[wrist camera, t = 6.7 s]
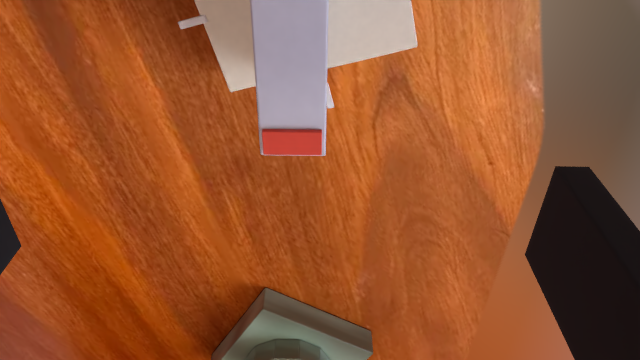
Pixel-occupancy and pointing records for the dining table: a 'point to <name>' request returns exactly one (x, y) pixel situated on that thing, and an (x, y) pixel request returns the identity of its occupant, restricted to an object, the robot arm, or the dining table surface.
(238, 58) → the tap base
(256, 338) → the button block
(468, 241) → the dining table surface
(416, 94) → the dining table surface
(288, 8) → the grey lever handle
